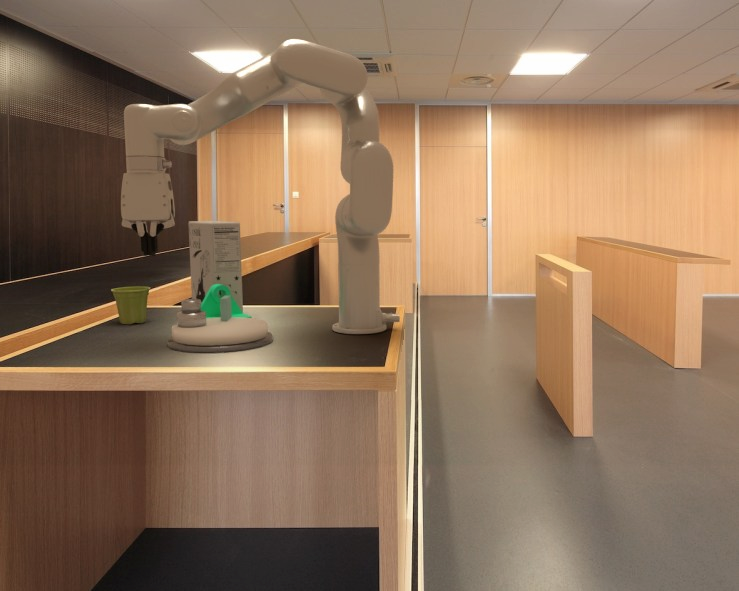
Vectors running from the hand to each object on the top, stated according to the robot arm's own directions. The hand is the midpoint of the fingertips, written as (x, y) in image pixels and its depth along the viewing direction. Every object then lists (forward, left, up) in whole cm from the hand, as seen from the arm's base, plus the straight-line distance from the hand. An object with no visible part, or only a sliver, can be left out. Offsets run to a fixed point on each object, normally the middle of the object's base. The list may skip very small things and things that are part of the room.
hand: (149, 255), depth 140 cm
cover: (-8, 0, -15) cm, 17 cm away
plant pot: (+13, -27, -19) cm, 35 cm away
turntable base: (-14, 0, -19) cm, 23 cm away
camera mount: (-11, -19, -19) cm, 29 cm away
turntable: (-14, 0, -17) cm, 22 cm away
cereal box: (-7, -35, -19) cm, 41 cm away
